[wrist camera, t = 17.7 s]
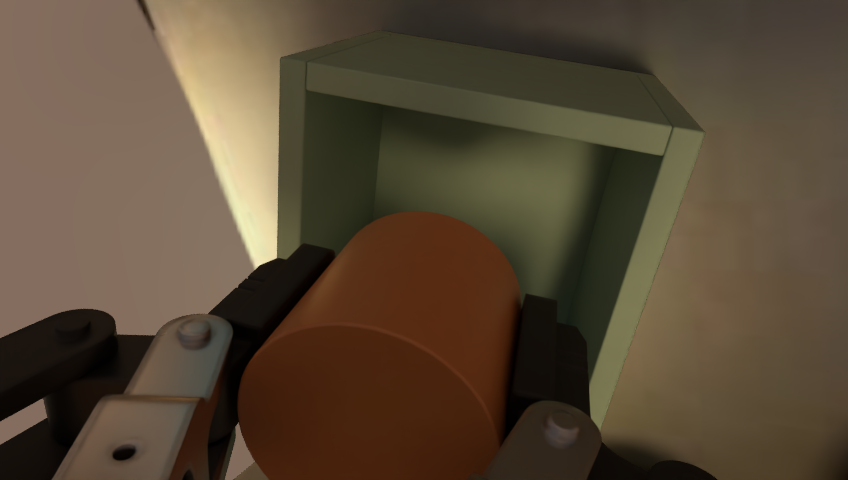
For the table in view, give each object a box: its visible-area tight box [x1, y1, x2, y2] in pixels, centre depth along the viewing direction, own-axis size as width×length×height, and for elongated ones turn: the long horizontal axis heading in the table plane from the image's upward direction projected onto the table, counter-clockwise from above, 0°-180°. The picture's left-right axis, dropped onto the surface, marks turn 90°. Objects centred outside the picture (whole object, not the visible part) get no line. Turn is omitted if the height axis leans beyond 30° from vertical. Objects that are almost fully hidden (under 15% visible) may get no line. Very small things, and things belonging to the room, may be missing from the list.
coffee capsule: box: [237, 211, 522, 480], centre depth 12 cm, size 5×5×5 cm
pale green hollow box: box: [277, 30, 705, 431], centre depth 25 cm, size 17×13×10 cm
